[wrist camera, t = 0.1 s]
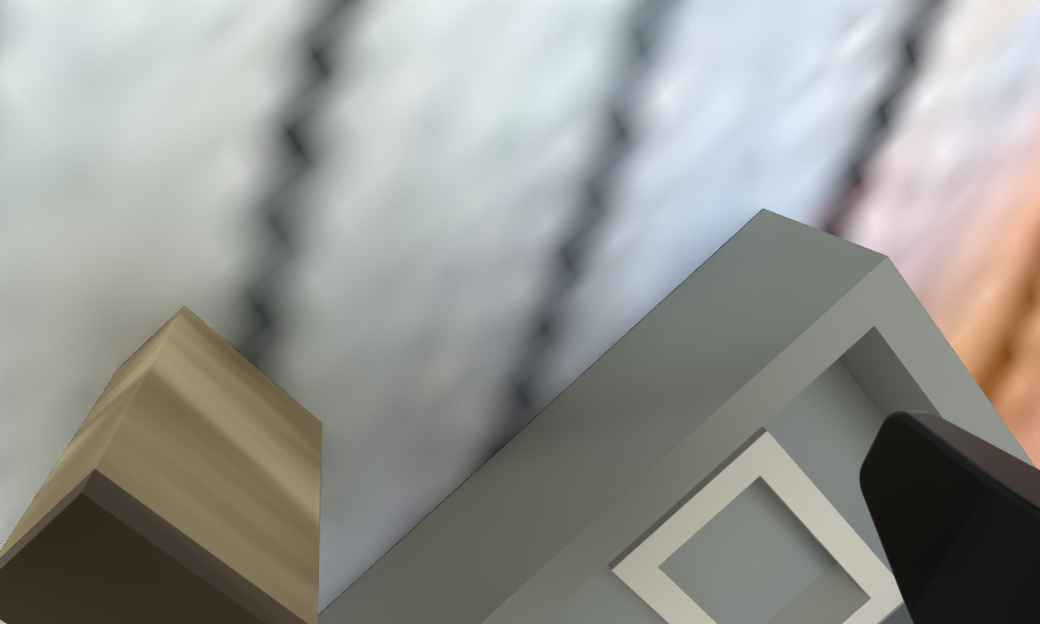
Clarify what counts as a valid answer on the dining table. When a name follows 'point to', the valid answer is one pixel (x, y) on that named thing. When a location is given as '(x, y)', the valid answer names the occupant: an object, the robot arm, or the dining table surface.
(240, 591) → the tall wooden brick
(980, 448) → the robot arm
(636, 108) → the dining table surface
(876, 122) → the dining table surface
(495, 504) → the grey storage tray
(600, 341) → the dining table surface
